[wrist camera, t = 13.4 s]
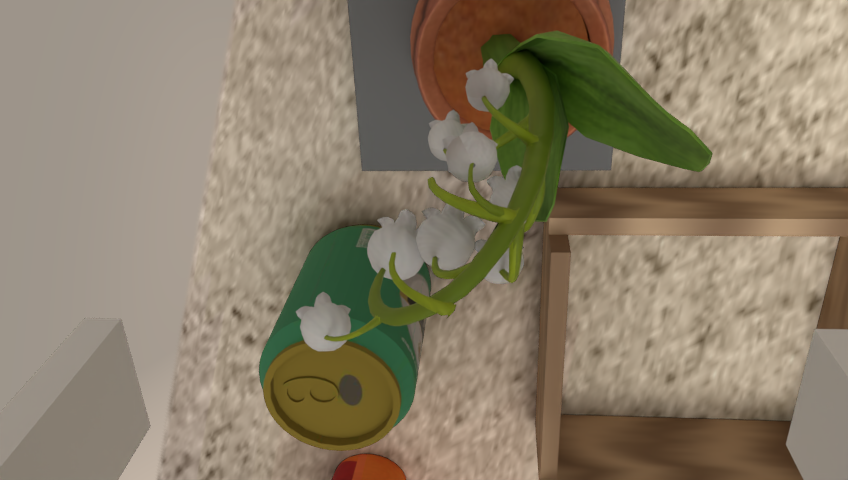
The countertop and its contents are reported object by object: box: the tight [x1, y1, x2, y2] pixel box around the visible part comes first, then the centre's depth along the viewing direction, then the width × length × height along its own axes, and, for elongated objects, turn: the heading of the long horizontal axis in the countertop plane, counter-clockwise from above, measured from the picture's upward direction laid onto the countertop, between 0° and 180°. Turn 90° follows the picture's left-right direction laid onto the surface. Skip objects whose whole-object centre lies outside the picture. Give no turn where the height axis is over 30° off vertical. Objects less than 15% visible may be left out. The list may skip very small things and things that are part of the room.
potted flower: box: [296, 0, 712, 351], centre depth 27 cm, size 12×10×25 cm
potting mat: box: [348, 0, 626, 171], centre depth 38 cm, size 14×14×1 cm
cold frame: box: [535, 188, 848, 480], centre depth 42 cm, size 18×18×9 cm
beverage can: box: [259, 224, 431, 451], centre depth 41 cm, size 8×8×12 cm
